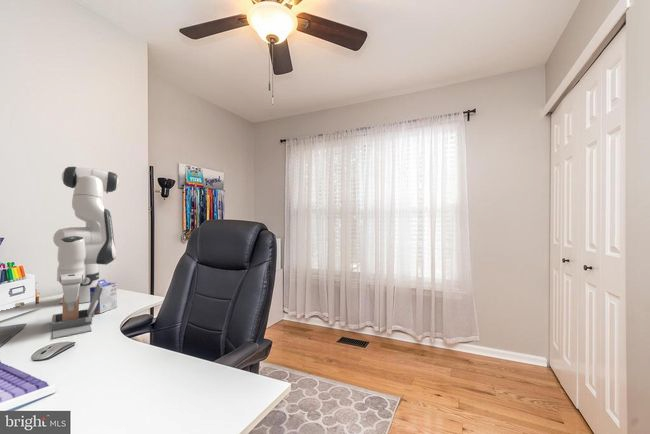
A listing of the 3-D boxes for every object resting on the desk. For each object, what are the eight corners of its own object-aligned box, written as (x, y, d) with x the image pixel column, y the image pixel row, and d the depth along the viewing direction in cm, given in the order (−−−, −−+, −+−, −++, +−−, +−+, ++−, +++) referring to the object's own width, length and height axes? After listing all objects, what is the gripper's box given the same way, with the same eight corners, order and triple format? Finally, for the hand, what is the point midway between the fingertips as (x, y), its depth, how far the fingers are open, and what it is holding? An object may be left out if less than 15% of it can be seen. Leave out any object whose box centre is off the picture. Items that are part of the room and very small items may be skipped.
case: (52, 321, 120) (53, 287, 120) (99, 313, 130) (99, 281, 130) (51, 333, 108) (52, 295, 108) (102, 323, 119) (103, 288, 119)
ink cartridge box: (107, 306, 140) (107, 277, 140) (117, 307, 140) (118, 278, 140) (88, 313, 131) (89, 282, 131) (99, 314, 130) (100, 282, 130)
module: (62, 318, 119) (63, 293, 119) (78, 316, 122) (78, 291, 122) (62, 322, 115) (62, 296, 115) (78, 319, 118) (79, 294, 118)
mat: (53, 332, 109) (53, 331, 109) (90, 325, 116) (90, 324, 116) (52, 339, 103) (52, 337, 103) (91, 331, 111) (91, 330, 111)
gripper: (62, 272, 124) (61, 303, 124) (60, 281, 109) (59, 316, 109) (80, 270, 128) (80, 300, 128) (82, 278, 113) (81, 313, 113)
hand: (70, 308), depth 119 cm, fingers closed on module, 5 cm apart
